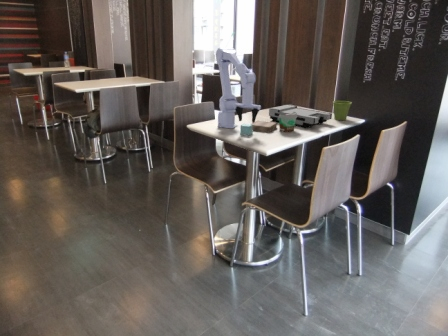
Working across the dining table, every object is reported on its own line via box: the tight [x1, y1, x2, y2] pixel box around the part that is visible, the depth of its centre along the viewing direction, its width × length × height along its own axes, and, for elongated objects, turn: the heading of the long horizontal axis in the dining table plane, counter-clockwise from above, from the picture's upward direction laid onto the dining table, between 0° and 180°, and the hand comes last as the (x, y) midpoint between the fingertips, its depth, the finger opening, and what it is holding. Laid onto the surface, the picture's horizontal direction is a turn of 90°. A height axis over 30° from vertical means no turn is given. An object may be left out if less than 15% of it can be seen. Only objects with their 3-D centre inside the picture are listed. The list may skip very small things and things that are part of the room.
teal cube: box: [240, 123, 254, 136], centre depth 186 cm, size 5×5×5 cm
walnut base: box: [250, 120, 278, 133], centre depth 197 cm, size 12×12×3 cm
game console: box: [268, 104, 333, 129], centre depth 212 cm, size 21×32×8 cm, turn 45°
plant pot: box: [332, 100, 353, 121], centre depth 221 cm, size 12×12×11 cm
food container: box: [278, 112, 297, 133], centre depth 191 cm, size 12×6×10 cm, turn 126°
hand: (246, 121), depth 185 cm, fingers open, 7 cm apart
